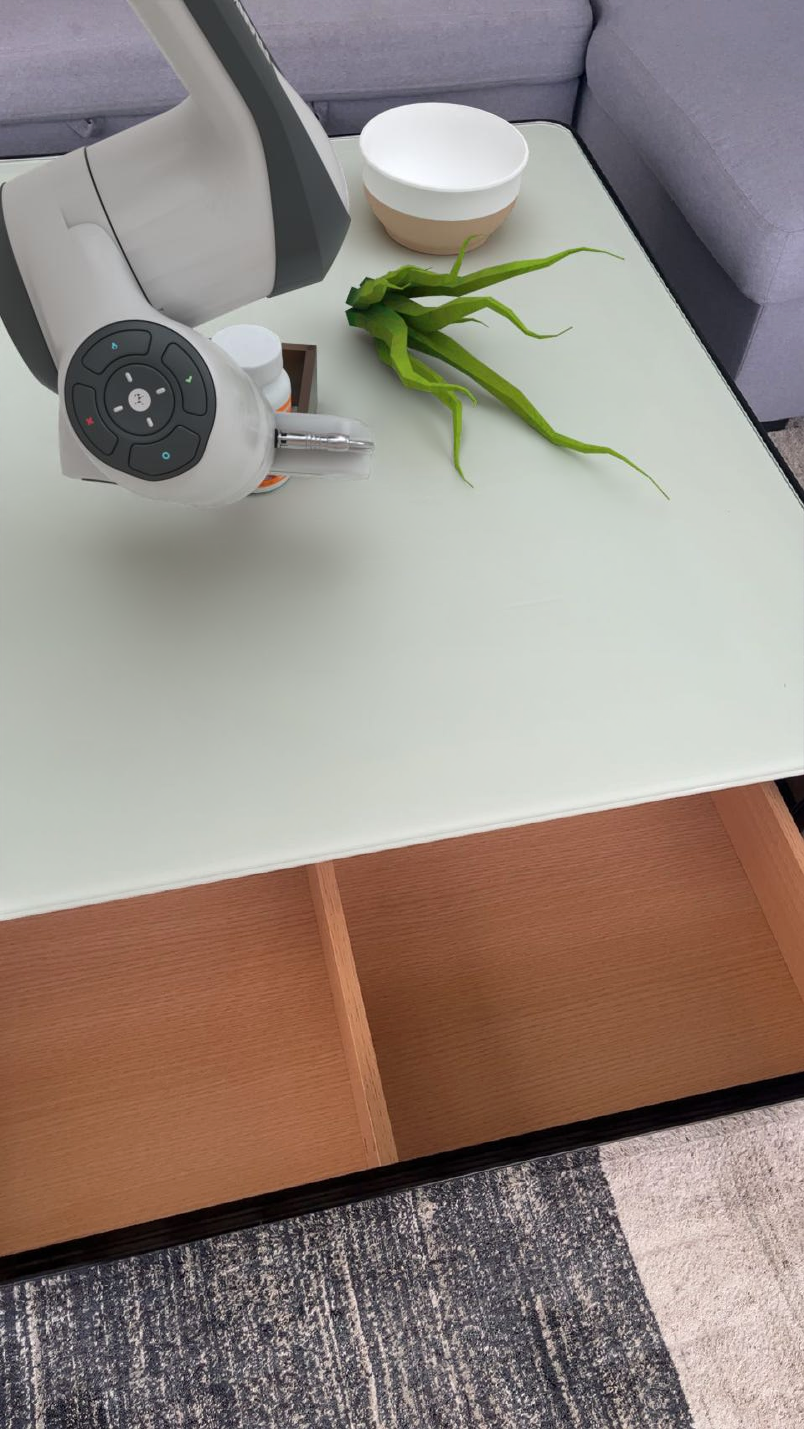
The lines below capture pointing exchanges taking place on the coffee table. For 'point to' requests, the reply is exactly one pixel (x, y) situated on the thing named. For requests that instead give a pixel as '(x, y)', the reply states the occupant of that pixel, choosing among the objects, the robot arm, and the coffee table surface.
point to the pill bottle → (260, 371)
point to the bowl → (441, 174)
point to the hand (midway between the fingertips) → (236, 451)
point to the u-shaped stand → (301, 375)
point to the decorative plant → (416, 327)
